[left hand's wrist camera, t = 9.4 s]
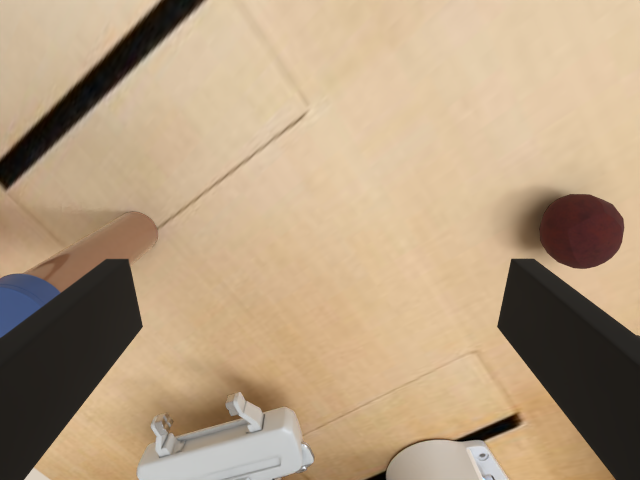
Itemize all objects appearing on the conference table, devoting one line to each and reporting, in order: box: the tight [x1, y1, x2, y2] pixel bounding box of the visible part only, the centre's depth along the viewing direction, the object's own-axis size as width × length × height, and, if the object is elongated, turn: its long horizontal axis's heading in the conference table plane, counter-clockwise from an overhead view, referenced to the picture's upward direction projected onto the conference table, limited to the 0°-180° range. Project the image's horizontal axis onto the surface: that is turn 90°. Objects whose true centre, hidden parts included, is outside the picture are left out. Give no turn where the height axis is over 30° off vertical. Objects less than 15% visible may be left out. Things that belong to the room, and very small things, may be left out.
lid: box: [0, 274, 61, 338], centre depth 25 cm, size 6×6×2 cm
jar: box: [22, 212, 158, 292], centre depth 33 cm, size 5×5×18 cm
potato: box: [540, 194, 624, 269], centre depth 38 cm, size 7×8×7 cm
